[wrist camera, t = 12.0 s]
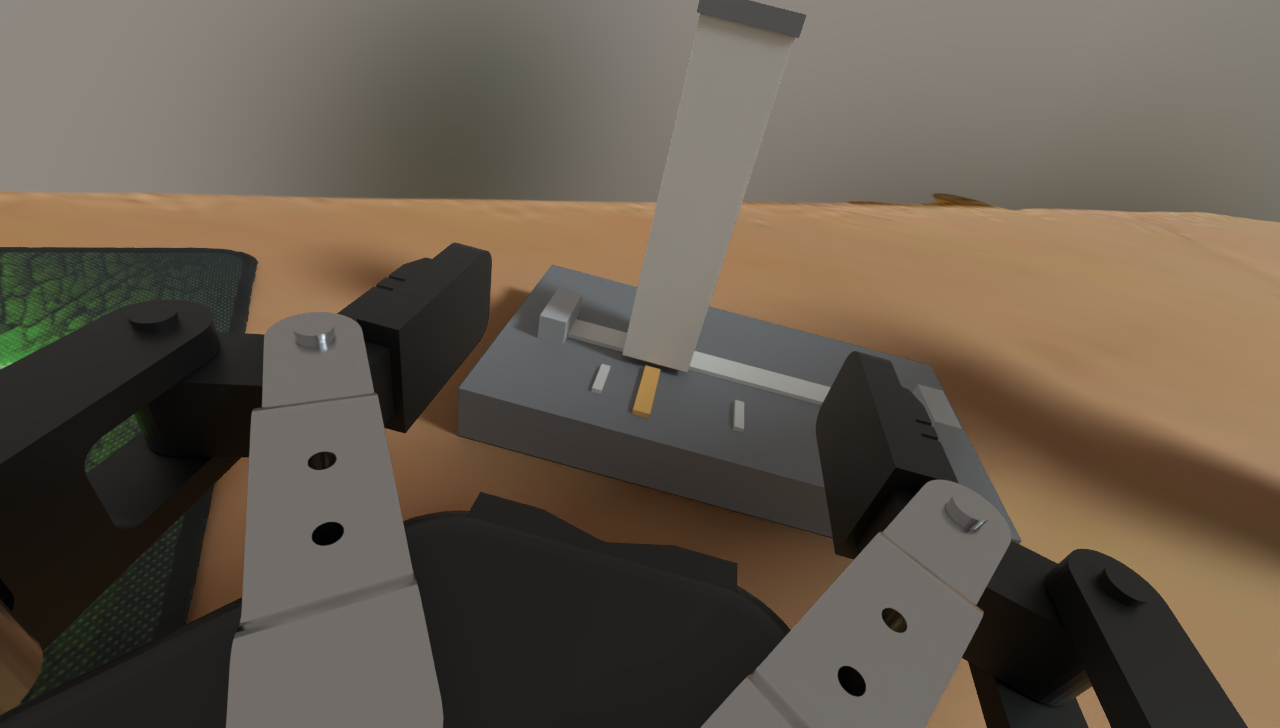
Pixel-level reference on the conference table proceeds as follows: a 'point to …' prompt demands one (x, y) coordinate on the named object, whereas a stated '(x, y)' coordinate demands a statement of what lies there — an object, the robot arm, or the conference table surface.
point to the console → (681, 403)
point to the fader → (707, 171)
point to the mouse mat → (56, 306)
